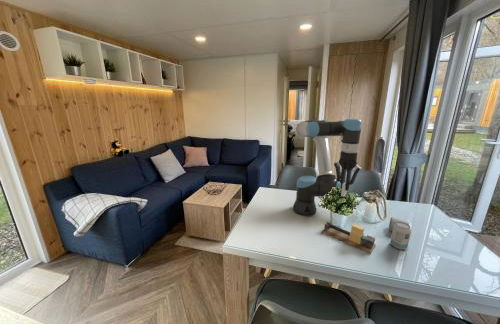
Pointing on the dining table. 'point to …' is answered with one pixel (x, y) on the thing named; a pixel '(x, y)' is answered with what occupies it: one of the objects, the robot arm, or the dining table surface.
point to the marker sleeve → (356, 233)
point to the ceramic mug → (394, 220)
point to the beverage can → (400, 235)
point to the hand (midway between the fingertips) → (343, 195)
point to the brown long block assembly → (343, 235)
